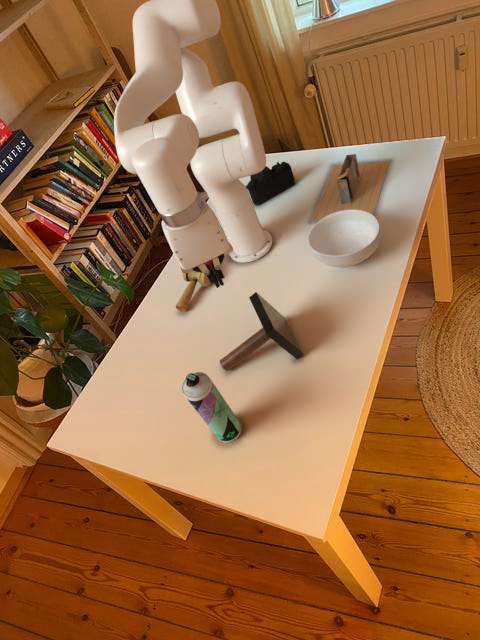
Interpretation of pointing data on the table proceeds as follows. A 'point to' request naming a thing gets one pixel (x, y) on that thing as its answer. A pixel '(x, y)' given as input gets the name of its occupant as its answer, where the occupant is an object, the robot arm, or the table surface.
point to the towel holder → (264, 334)
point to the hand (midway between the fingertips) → (218, 282)
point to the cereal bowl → (344, 238)
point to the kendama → (192, 287)
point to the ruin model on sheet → (352, 187)
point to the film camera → (270, 182)
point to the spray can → (211, 406)
